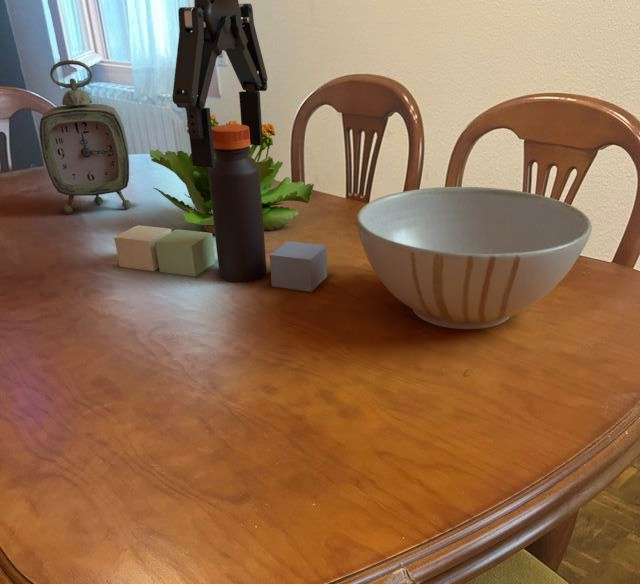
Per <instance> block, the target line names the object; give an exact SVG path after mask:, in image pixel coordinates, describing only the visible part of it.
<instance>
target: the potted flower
mask: <svg viewBox="0 0 640 584" xmlns="http://www.w3.org/2000/svg"><path fill="white" fill-rule="evenodd" d="M210 116H211V126H212V128H213V127H215V126H219V124H220V121H219V120H217V117H216V115H215V114H210ZM230 124H239V125H241V122H238V121H237V120H230V121H229V122H226V123H225V125H230ZM186 127H187V129H186V133H187V134H189V130H188V129H189V128H188V122H186ZM274 129H275V127H274V125H273V124H270V123H264V122H263V123H262V138H263V145H251V147H250V150H248V152H249V157H250V158H251V159H252V160H253V161H254V162H255V163H256V164H257V165H258V167H259V171H260V185H261V199H262V213H263V227H264V231H266V230H267V229H268V230H269V231H272V230H275V228H276V229H278V228H282V227H283V225H287V224H288V222H289V221H291V220H293V218H294V217H297V216H298V214H299V213H300V212H299V211H298V210H297V209H296V208H291V207H288V206H286V207H284V206H279V205H284V203H283V202H300V203H305V204H309V203H310V201H311V199H312V193H313V190H314V187H315V183H307V184H305V182H304V181H302V180H300V181H296V182H291V180H292V179H291V178H290V177H289V176H286V177H284V179H282V181H281V182H280V183H279V184H278V185H277V186H276V187H275V188H271V186H272V185H273V184H275V182H276V177H277V175H278V173H279V171H280V169H281V168H282V166H283V165H284V162H283V161H280V160H278V161H276V162H274V158H273V157H272V155H269V151H270V146H274V144H273V143H274V142H273V141H274V140H273V137H272V136H276V132H275V130H274ZM258 147H259V150H258V151H257V153H256V155H255V157H254V158H253V155H254V154H255V151H256V150H257V148H258ZM265 149H266V155H265V158H264V159H262V160H260V159H261V156H262V153H263V151H264V150H265ZM164 153H165V154H164ZM164 153H163V152H162V151H161V150H159V149H155V150H154V149H152V150H151V149H150V151H149V157H150V159H151V162H153V163H155V164H158V165H160V166H162V167H164V168H166V169H168V170H169V171H171V172H172V173H174V174H175V175H176V176H177V177H178V179H179V180H181V182H182V183H183V184H184V185H185V186H186V187H185V188H186V189H187V193H188V194H186V193H184V196H186V197H187V198H189V199H190V200H191V202H192V204H193V206H194V207H195V208H193V207H192V206H190V204H185V201H183V200H179V199H178V198H176V197H175V196H171V195H170V194H168V193H165V192H164V191H163V190H160V189H158V188H157V187H152V189H154V190H156V191H157V192H158V193H160V194H161V195H162V196H163V197H164V198H165V199H167V200H168V201H169V202H171V203H172V204H173V205H174V206H176V207H177V208H178V209H180V210H182V211H184V212H185V213H183V214H182V215H183V217H184V221H185V222H187V223H189V224H196V225H201V226H203V228H204V230H205V232H207V233H212V235H215V230H214V221H213V213H211V212H212V203H211V194H210V186H209V177H208V170H209V168H210V167H197V166H193V162H192V153H189V154H188V152H185V151H184V150H178V151H177V152H176V151H172V150H168V151H166V152H164ZM214 157H215V159H216V152H214ZM270 188H271V189H270ZM281 202H282V203H281Z"/></svg>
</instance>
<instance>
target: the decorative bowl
mask: <svg viewBox="0 0 640 584" xmlns="http://www.w3.org/2000/svg"><path fill="white" fill-rule="evenodd" d="M355 218H356V219H355V220H356V228H357V232H358V236H359V239H360V242H361V245H362V249H363V251H364V254H365V256H366V258H367V260H368V262H369V264H370V266H371V268H372V270H373V272H374V274H375V275H376V277H378V279H379V280H380V281H381V283H382V285H383V286H384V287H385V288H386V289H387V290H388V292H390V293H391V294H392V295H393V296H394V297H395V298H396V299H397V300H398V301H399V302H401V303H402V304H404V305H405V306H406V307H408V308H410V309H412V311H413V313H414V314H415V315H416V316H417V317H418V318H419V319H421V320H423V321H424V322H427V323H429V324H433V325H435V326H439V327H443V328H450V329H457V330H479V329H486V328H492V327H495V326H498V325H500V324H503V323H505V322H506V321H507V320H509V319H510V317H512V316H514V315H516V314H519V313H521V312H523V311H524V310H526V309H528V308H530V307H532V306H534V305H536V303H538V302H539V301H541V300H543V298H545V297H546V296H547V295H548V294H549V293H551V292H552V291H553V290H554V289H555V288H556V287H557V286H558V285H559V284H560V283H561V282H562V280H563V279H564V278H565V277H566V276H567V275H568V273H569V272H570V271H571V269H572V268H573V266H574V265H575V264H576V262H577V261H578V259H579V257H580V255H581V254H582V252H583V251H584V248H585V247H586V245H587V243H588V241H589V240H590V237H591V234H592V231H593V225H592V220H591V219H590V218H589V217H588V215H587V214H586V213H584V212H583V210H581V209H580V208H578V207H575V206H573V205H571V204H569V203H567V202H564V201H561V200H560V199H559V200H558V199H555V198H553V197H549V196H546V195H545V196H544V195H541V194H536V193H532V192H527V191H520V190H514V189H507V188H495V187H483V186H438V187H428V188H418V189H411V190H405V191H400V192H395V193H392V194H387V195H384V196H381V197H378V198H376V199H374V200H372V201H369V202H368V203H366V204H365V205H364V206H362V207H361V208H360V209H359V211H358V212H357V214H356V217H355Z"/></svg>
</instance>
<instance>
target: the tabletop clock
mask: <svg viewBox="0 0 640 584" xmlns="http://www.w3.org/2000/svg"><path fill="white" fill-rule="evenodd" d="M68 65H75V66H79V67H82V68H83V69H86V71H87V72H88V73H89V78H88V79H86V80H84V81H82V82H77V80H76V78H73V77H71V78H70V79H69V83H64V82H60V81H58V80H56V79H55V77H54V72H55V71H56V69H58V68H60V67H62V66H68ZM49 76H50V79H51V81H52V82H53V83H55V84H56V85H57V86H58V87H62V88H65V89H70V90H67V91H65V93H64V94H63V97H62V100H61V101H62V102H61V106H55V107H53V108H50V109H49V110H47V111H45V112H44V113H43V115H42V116H41V118H40V122H39V140H40V141H39V142H40V147H41V153H42V158H43V161H44V164H45V167H46V170H47V174H48V176H49V179H50V181H51V184H52V185H53V187H54V188H55V190H56V191H57V193H59V194H62V195H65V196H68V200H67V201H68V202H67V204H65V205H64V206H63V211H64V213H65V214H67V215H71V214H72V213H73V211H74V209H73V206H72V203H73V200H74V197H86V196H88V197H89V196H91V197H92V196H93V197H94V196H95V197H94V199H93V202H94V204H95V205H96V206H101V205H102V204H103V202H104V200H103V198H102V196H101V195H107V194H115V193H116V194H117V195H118V197H119V198H120V199H121V201H122V202H121V205H122V207H123V209H125V210H128V209H130V208H131V206H132V203H131V202H130V200H128V199H126V198H125V196H124V194H123V193H122V190H125V189H126V188H128V184H129V180H130V157H129V156H130V154H129V145H128V141H127V136H126V132H125V129H124V124H123V121H122V120H121V117H120V115H119V113H118V111H117V109H116V108H115V107H113V106H110V105H107V104H101V103H93V100H92V98H91V96H90V95H89V94H88V93H87V92H86V91H85V90H82V89H79V88H83V87H86V86H87V85H89V84H90V83H91V82H92V80H93V72H92V70H91V68H90V67H89V66H88V65H87V64H86V63H85V62H82V61H80V60H74V59H66V60H61V61H58V62H57V63H55V64H53V66H52V67H51V69H50V72H49Z"/></svg>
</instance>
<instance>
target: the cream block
mask: <svg viewBox="0 0 640 584" xmlns="http://www.w3.org/2000/svg"><path fill="white" fill-rule="evenodd" d="M172 232H173V231H172V229H171V228H167V227H160V226H159V227H158V226H149V225H139V224H138V225H135V226H133V227H131V228H129V229H128V230H126V231H123V232H121V233H120V234H118V235H115V236H114V237H113V238H114V245H115V248H116V254H117V258H118V264H119V267H120V268H127V269H129V268H130V269H136V270H143V271H151V272H155V271H156V270H158V269H159V263H158V257H157V251H156V245H155V242H156V241H157V240H159V239H161V238H163V237H164V236H166V235H168V234H170V233H172Z"/></svg>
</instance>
